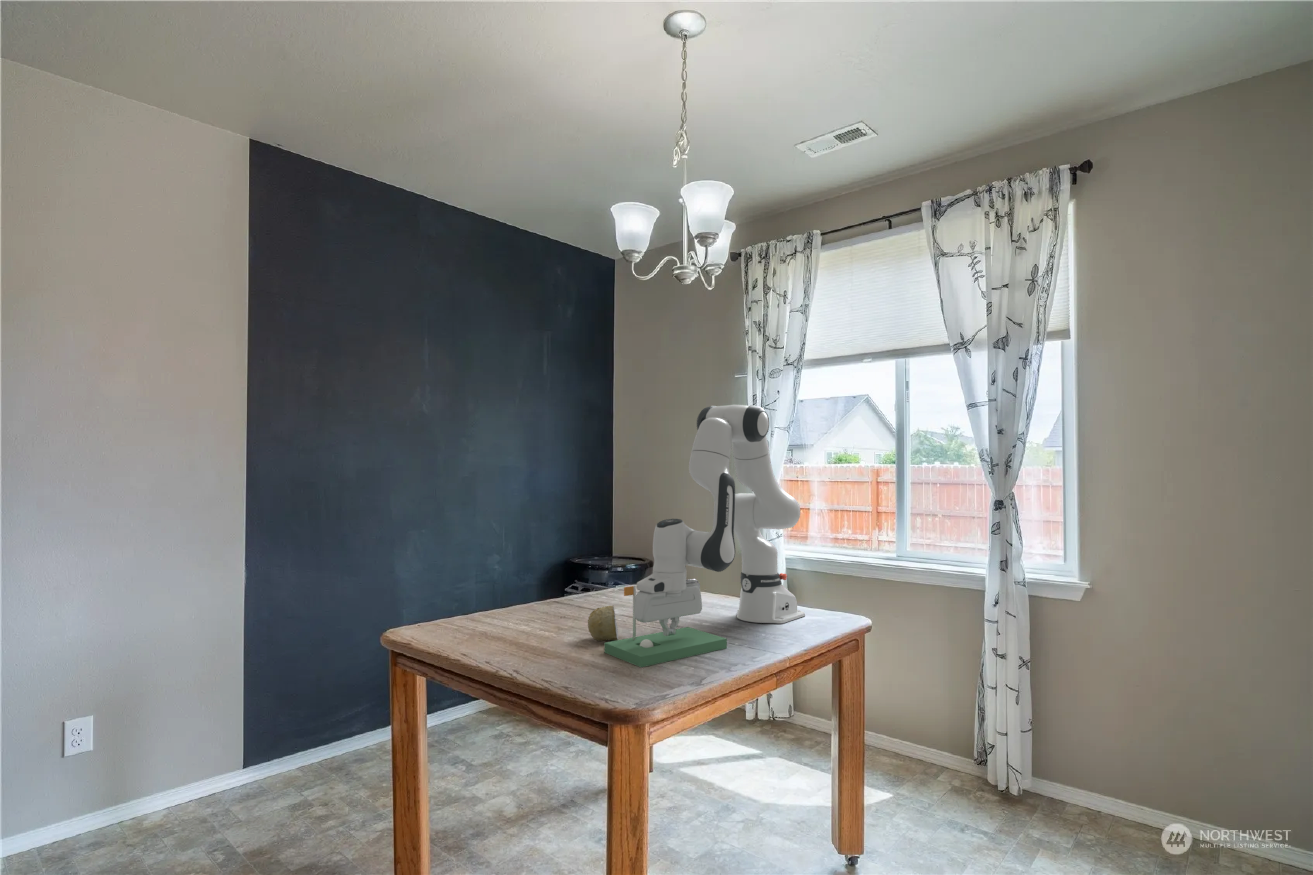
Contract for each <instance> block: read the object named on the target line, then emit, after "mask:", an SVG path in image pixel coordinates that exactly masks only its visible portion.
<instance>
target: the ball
mask: <svg viewBox="0 0 1313 875" xmlns="http://www.w3.org/2000/svg"><path fill="white" fill-rule="evenodd" d="M640 646H642V647H644V648H649V647H654V646H653V643H652V642H651V641H650V640H648V639H645V640H643V641H642V642H641V643H640Z"/></svg>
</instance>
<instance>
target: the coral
mask: <svg viewBox="0 0 1313 875" xmlns="http://www.w3.org/2000/svg"><path fill="white" fill-rule="evenodd" d="M615 612H616V611H615V605H607V606H603V607H597V608H595V609H593V610H592V611H591V612H590V615H589V616H588V619H587V628H588V632H589V634H590V635H591V637H592V639H594V641H598V642H602V641H603V642H604V641H616V640H619V629H618V628H619V627H618V622H617V617H616V613H615Z"/></svg>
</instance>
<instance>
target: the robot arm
mask: <svg viewBox="0 0 1313 875" xmlns="http://www.w3.org/2000/svg"><path fill="white" fill-rule="evenodd" d="M769 429H770V417H769V415H768V413H767V411H766V410H765V409H764V408H763V407H761V406H759V405H754V404H752V405H746V404H728V405H717V406H716V405H711V406H707V407H704V408H702V409H701V411H700V412H699V414H698V415H697V418H696V430H697V431H696V433H695V437H694V440H693V443H692V447H691V451H690V456H689V461H688V462H689V463H688V472H689V475H690V477H691V479H692V480H693V481H694V482H695V483H696V484H697V485H699V486H700V487H702V488H704V490H706V491H709V493H710V494H711V496H712V498H713V503H714V504H713V517H712V518H713V519H712V529H711V530H710V531H703V530H696V529H694V528H691V527H689V526H688V525H687V524H686V523H685V521H684V520H682V519H680V518H668V519H667V518H666V519H662V520H660V521H658V522H657V523H656V524H655V527H654V531H653V535H652V536H653V538H652V539H653V540H652V556H653V566H652V573H651V574H650V575H648V576H647V577H645V578H643V579H641V580H638V581H637V582H636V585H635V586H636V591H638V592H636V598H635V612H634V613H635V618H636V622H637V621H638V622H640V623H642V624H643V623H645V624H647V623H652V622H657V621H658V622H659V625H660V626H661V628H662V632H663V635H664V636H670V635H675V634H676V629H677V627H678V624H679V622H680V617H681V618H682V617H685V616H686V617H687V616H693V615H698V614H700V613H701V612H702V610H703V602H702V600H703V599H702V594H701V584H700V582H699V580H697V579H696V578H690V579H687V567H686V566H691V567H693V568H694V567H695V568H702V569H706V570H709V571H713V572H716V573H721V572H723V571H726V570H727V569H728V568H729V566H731V565H732V564H733V562H734V559H735V557H736V542H735V536H736V538H737V540H738V543H739V546H740V552H741V572H740V585H741V589H740V595H739V603H738V604H739V605H738V609H737V612H736V613H737V614H736V619H739V620H741V621H743V622H749V623H759V624H760V623H761V624H762V623H763V624H785V623H787V622H790V621H793V620H798V619H800V618H803V617H806V613H805V611H802V610H799V609H798V602H797V598H796V596H795V595H794V594H793V593H792V592H790V590H789V589H787V588H786V587H785V586H784V585H783V583H782V580H783V581H786V580H787V579H788V575H787V574H786V573H782V572H781V573H779V572H778V550H777V547H776V546H775V544H773V542H771V541H769V540H768V539H766V538H765V537H764V536H763V535H762V533H761V530H762V529H764V530H784V529H785V530H786V529H791V528H793V527H795V526H796V525H797V523H798V522H799V519H800V517H801V507H800V505H799V502H798V500H797V499H796V498H795V497H794V496H792V495H790V493H787V491H785V489H784V488H783V487H782V486H781V485H780V483H779V482H778V480H777V479H776V477H775V474H774V471H773V465H772V461H771V454H770V448H769V443H768V438H767V435H768V432H769V431H770V430H769ZM731 455H733V462H734V463H733V464H734V468H735V469H734V470H735V474H736V478H737V480H738V482H739V483H740V484H741V485H743V486H744V487H746V488H748V489H750V491H752V493H751V492H750V493H749V492H746V493H745V492H739V493H736V484H735V480H734V478H733V477H732V475H731V473H730V461H731V457H732V456H731ZM669 621H671V622H670V625H669V626H668V623H669Z"/></svg>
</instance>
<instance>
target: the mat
mask: <svg viewBox="0 0 1313 875" xmlns="http://www.w3.org/2000/svg"><path fill="white" fill-rule="evenodd" d="M636 595H637V587H636V585H631V586H625V587H623V597H627V596H629V597H630V596H632V637H629V638H623V639H618V640H610V641H607V642H604V643H603V644H604V653H605V654H608V655H609V656H612V657H614V658H617V659H619V660H622V661H624V662H627V663H629V664H632V665H634V666H636V667H639V668H645V667H649V666H654V665H659V664H663V663H666V662H667V663H669V662H670V661H676V660H681V659H685V658H688V657H694V656H699V655H703V654H707V653H711V652H716V651H720V650H725V649H727V648H728V638H726V637H723V636H719V635H715V634H714V633H713V634H712V633H710V632H705V631H703V630H699V629H697V628H692V627H689V626H686V627H681V628H676V634H675V635H670V636H664V635H663V631H659V632H654V633H650V634H648V633H647V634H643V635H639V636H637V635H636V634H637V620H636V618H635V613H634V612H635V598H636ZM645 639H648V640H650V641H651V642H652V643H653V646H654V647H649V648H644V647H642V646H640V643H641V642H642V641H643V640H645Z"/></svg>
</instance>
